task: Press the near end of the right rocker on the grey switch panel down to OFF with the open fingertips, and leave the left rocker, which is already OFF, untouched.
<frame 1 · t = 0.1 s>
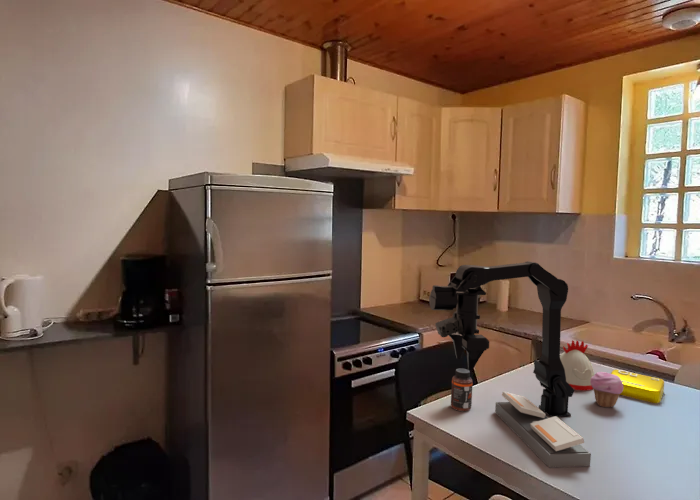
hand: (464, 364, 124), 15 cm above the table, tool pointing down, fingers open, 9 cm apart
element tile: (634, 392, 147), on the table
cupcake: (605, 405, 135), on the table
supplement bottle: (460, 408, 130), on the table
rocker 2: (555, 432, 105), point 5 cm above the table, hinge at 15.0°
rocker 1: (522, 404, 121), point 5 cm above the table, hinge at -15.0°
grey switch panel: (537, 436, 114), on the table
kitchen timer: (572, 383, 153), on the table
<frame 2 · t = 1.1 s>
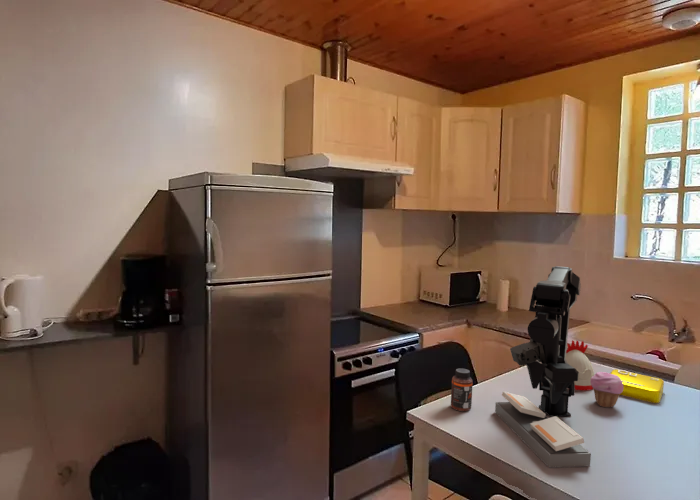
hand: (543, 395, 109), 13 cm above the table, tool pointing down, fingers open, 9 cm apart
nothing on the table moved.
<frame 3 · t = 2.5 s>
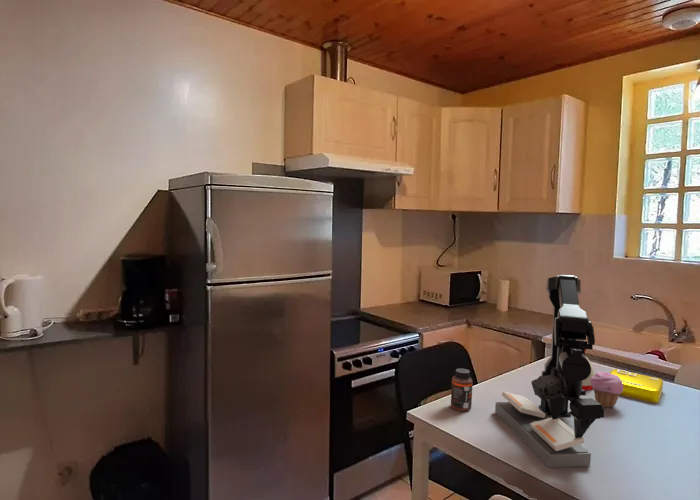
hand: (565, 429, 106), 6 cm above the table, tool pointing down
rocker 2: (555, 432, 105), point 5 cm above the table, hinge at 14.6°, touching gripper
everything else where it was.
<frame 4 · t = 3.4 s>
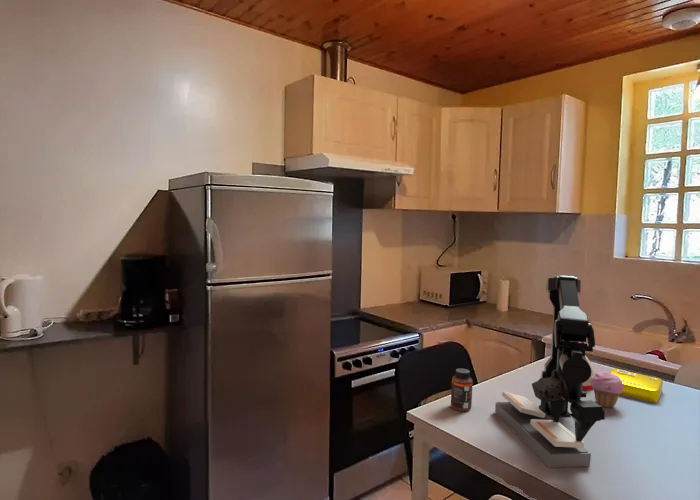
hand: (566, 431, 106), 5 cm above the table, tool pointing down
rocker 2: (555, 432, 105), point 5 cm above the table, hinge at -4.1°, touching gripper
everything else where it was.
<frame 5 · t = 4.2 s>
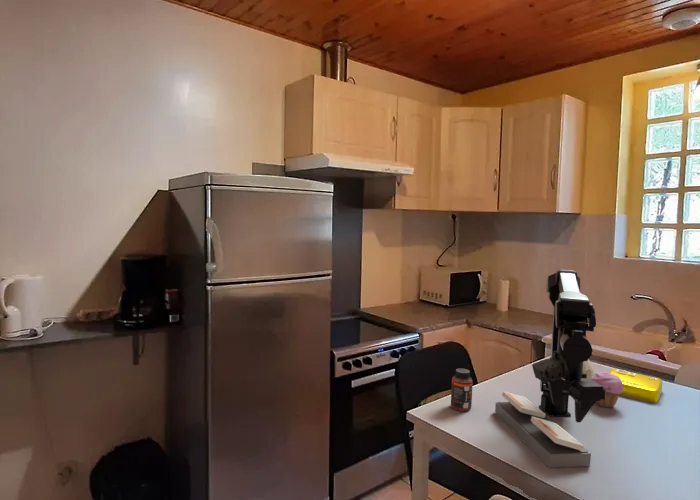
hand: (566, 413, 105), 10 cm above the table, tool pointing down, fingers open, 9 cm apart
rocker 2: (556, 432, 105), point 5 cm above the table, hinge at -17.2°
everything else where it was.
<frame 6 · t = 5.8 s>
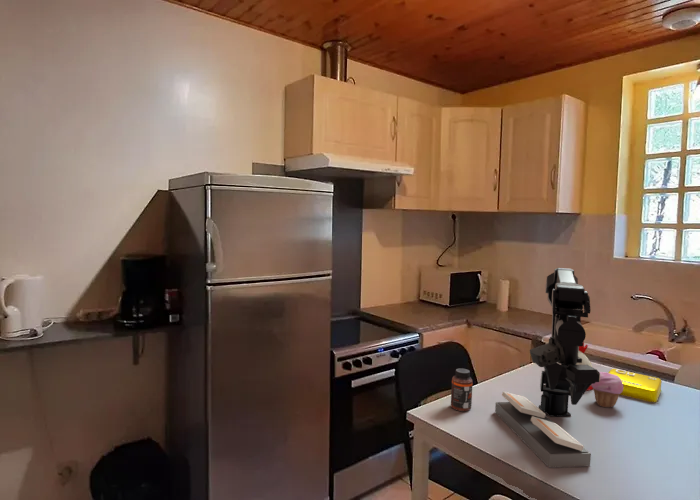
hand: (562, 396, 110), 12 cm above the table, tool pointing down, fingers open, 9 cm apart
rocker 2: (556, 432, 105), point 5 cm above the table, hinge at -17.9°
everything else where it was.
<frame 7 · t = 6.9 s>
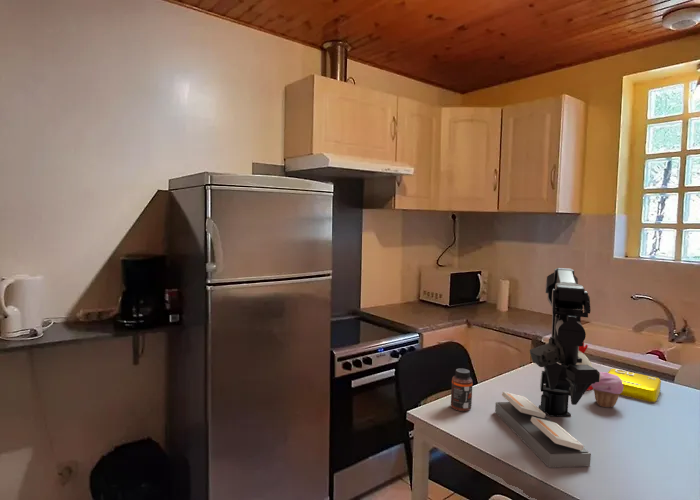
hand: (562, 396, 110), 12 cm above the table, tool pointing down, fingers open, 9 cm apart
rocker 2: (556, 432, 105), point 5 cm above the table, hinge at -16.1°
everything else where it was.
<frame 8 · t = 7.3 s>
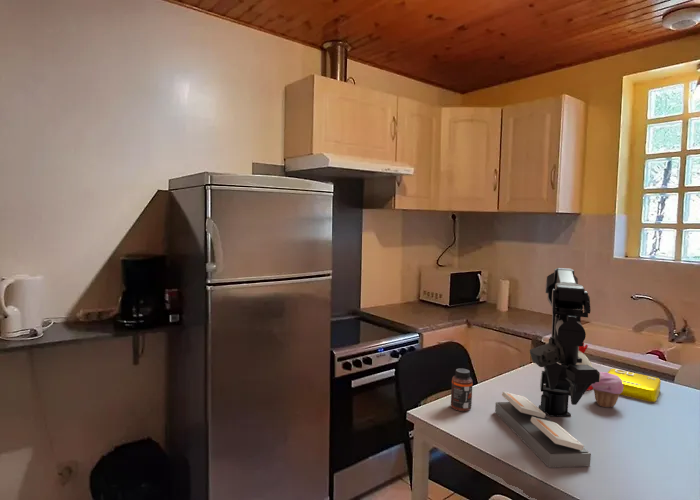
hand: (562, 396, 110), 12 cm above the table, tool pointing down, fingers open, 9 cm apart
rocker 2: (556, 432, 105), point 5 cm above the table, hinge at -15.7°
at the end: rocker 2 at -16° (first picture: +15°); rocker 1 at -15° (first picture: -15°) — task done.
